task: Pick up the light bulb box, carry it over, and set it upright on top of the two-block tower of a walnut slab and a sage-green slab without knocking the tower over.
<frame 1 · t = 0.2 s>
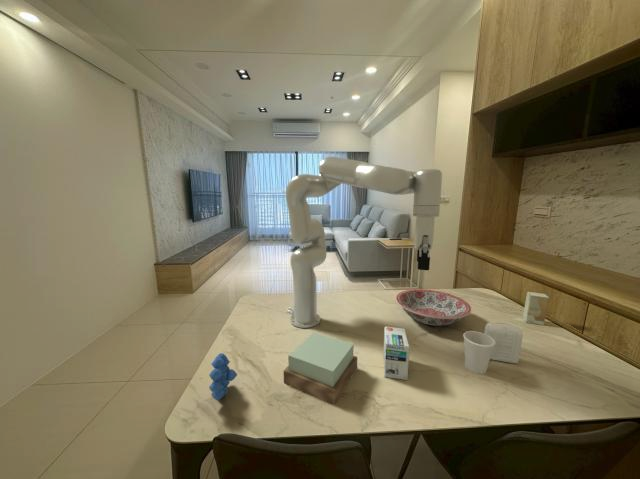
hand: (422, 265, 83), 31 cm above the table, tool pointing down, fingers open, 9 cm apart
tower base block: (321, 377, 78), on the table, touching tower top block
light bulb box: (394, 368, 81), on the table
grapes: (225, 396, 70), on the table
tower top block: (322, 363, 77), point 4 cm above the table, touching tower base block
skincare box: (533, 322, 109), on the table
dixie cup: (475, 368, 81), on the table
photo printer: (499, 358, 85), on the table
ceramic bowl: (430, 319, 112), on the table
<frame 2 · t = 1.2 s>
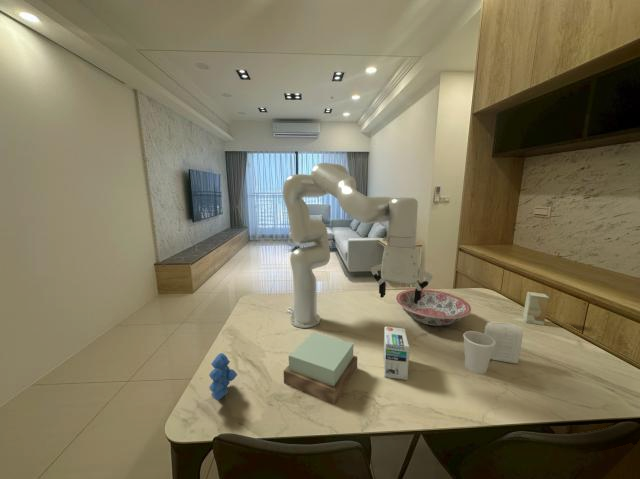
hand: (399, 299, 77), 22 cm above the table, tool pointing down, fingers open, 9 cm apart
nothing on the table moved.
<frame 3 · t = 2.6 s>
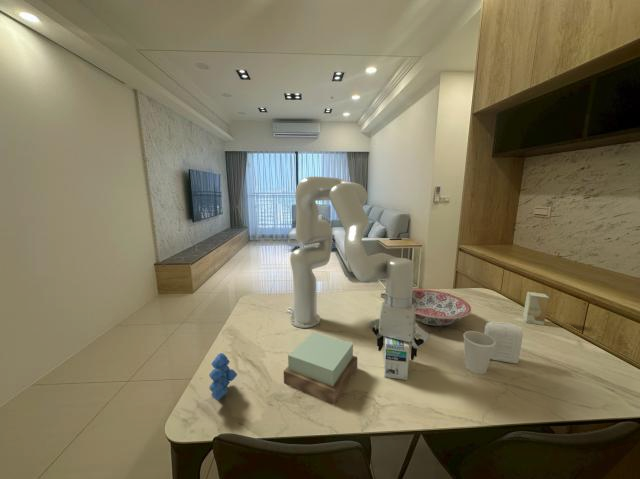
hand: (396, 353, 80), 5 cm above the table, tool pointing down, fingers open, 9 cm apart
nothing on the table moved.
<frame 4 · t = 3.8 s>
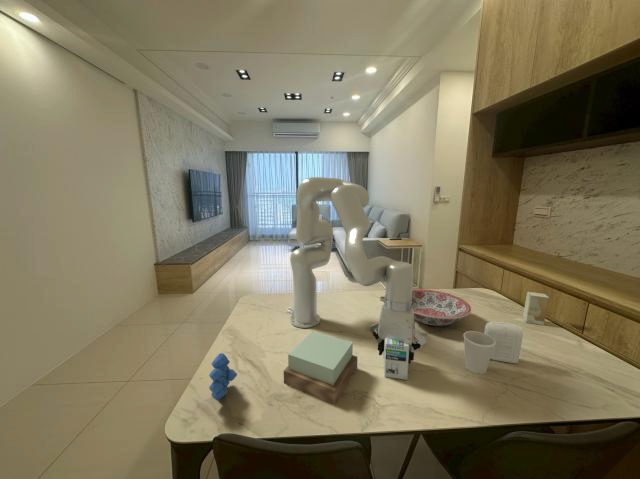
hand: (395, 356, 80), 4 cm above the table, tool pointing down, fingers closed on light bulb box, 8 cm apart
light bulb box: (394, 367, 81), on the table, touching gripper
everything else where it was.
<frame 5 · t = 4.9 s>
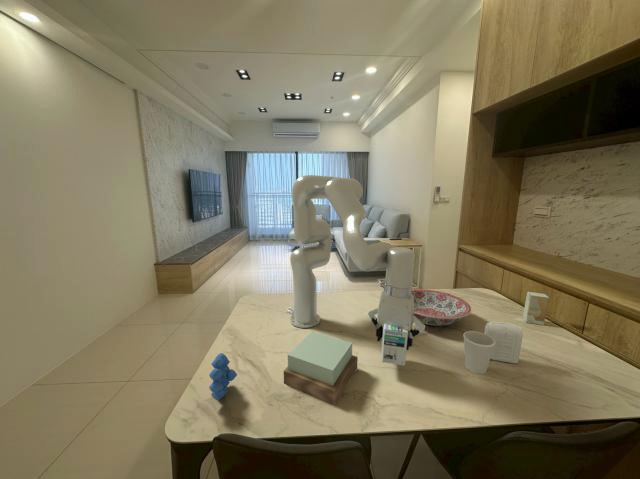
hand: (393, 343, 80), 8 cm above the table, tool pointing down, fingers closed on light bulb box, 8 cm apart
light bulb box: (392, 354, 81), point 4 cm above the table, touching gripper
everything else where it was.
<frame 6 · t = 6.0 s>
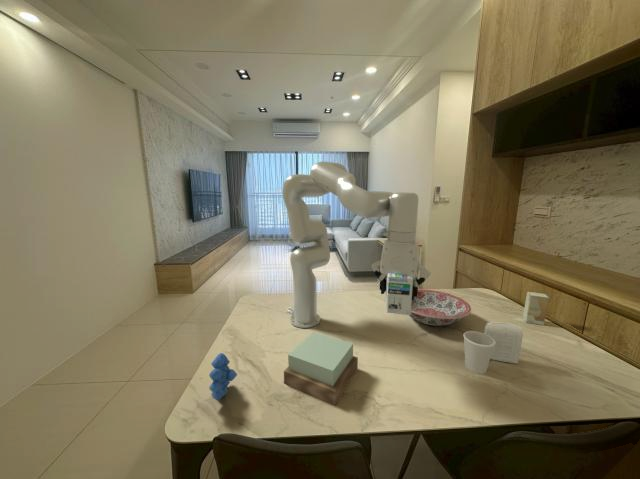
hand: (397, 295, 77), 24 cm above the table, tool pointing down, fingers closed on light bulb box, 8 cm apart
tower base block: (322, 377, 77), on the table
light bulb box: (396, 307, 78), point 20 cm above the table, touching gripper
tower top block: (321, 362, 77), point 4 cm above the table
everything else where it was.
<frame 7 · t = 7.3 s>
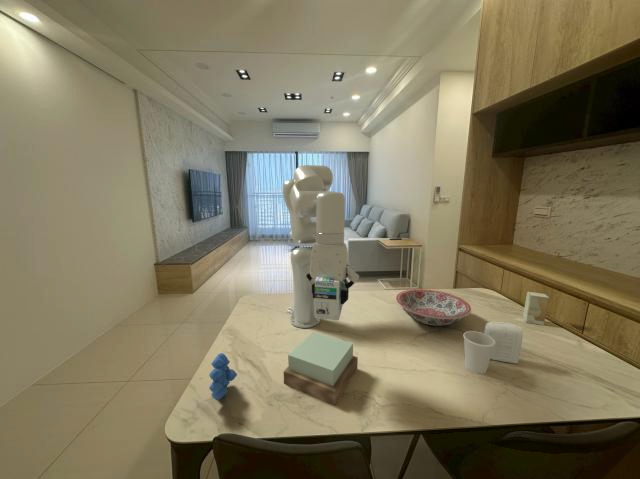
hand: (329, 299, 74), 24 cm above the table, tool pointing down, fingers closed on light bulb box, 8 cm apart
tower base block: (322, 377, 77), on the table, touching tower top block
light bulb box: (329, 311, 74), point 20 cm above the table, touching gripper
tower top block: (321, 362, 77), point 4 cm above the table, touching tower base block
everything else where it was.
when the fingers open (14 cm above the table, at t = 10.1 s): light bulb box drops 2 cm, resting on tower top block.
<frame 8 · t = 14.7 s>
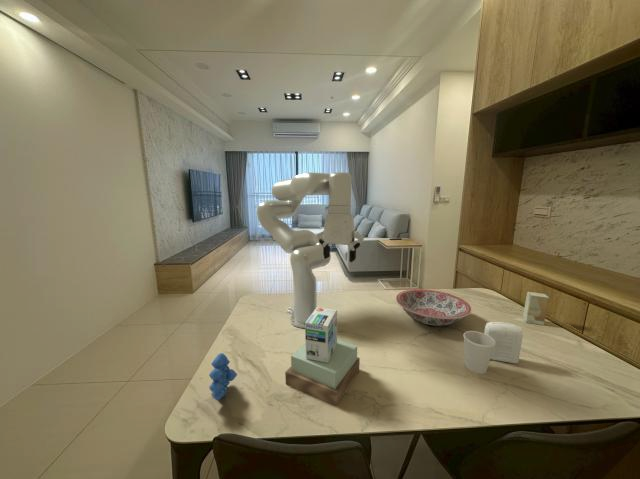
hand: (339, 259, 91), 30 cm above the table, tool pointing down, fingers open, 9 cm apart
light bulb box: (322, 351, 76), point 8 cm above the table, touching tower top block
tower top block: (325, 364, 76), point 4 cm above the table, touching light bulb box, tower base block
everything else where it was.
at the end: light bulb box inside the target area on the tower top block (0.9 cm from its centre), point 4.3 cm above the tower top block's base; light bulb box tilted 0°; tower top block moved 1.2 cm from its start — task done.
